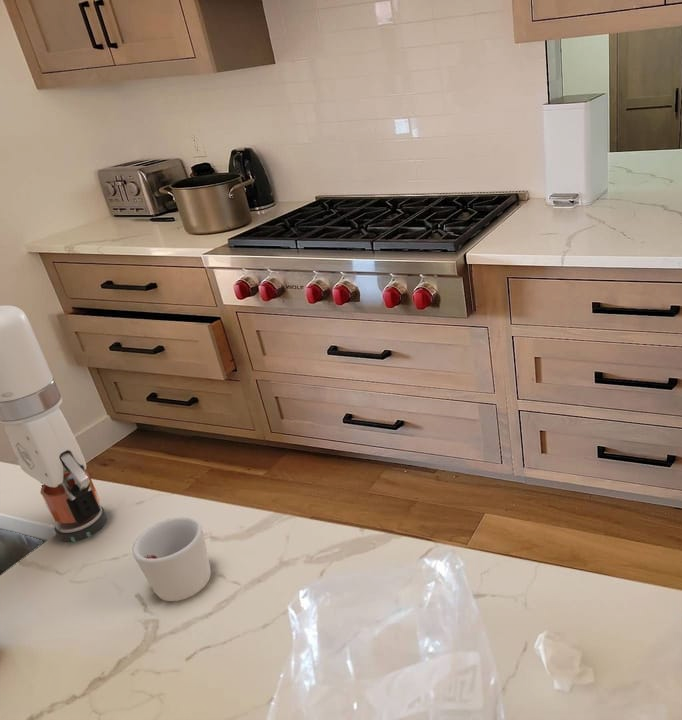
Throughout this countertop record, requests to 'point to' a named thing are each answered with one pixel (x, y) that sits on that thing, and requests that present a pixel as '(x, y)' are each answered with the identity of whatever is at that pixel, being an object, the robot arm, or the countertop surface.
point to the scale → (81, 527)
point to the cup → (174, 558)
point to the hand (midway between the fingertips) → (75, 508)
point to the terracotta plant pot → (61, 500)
